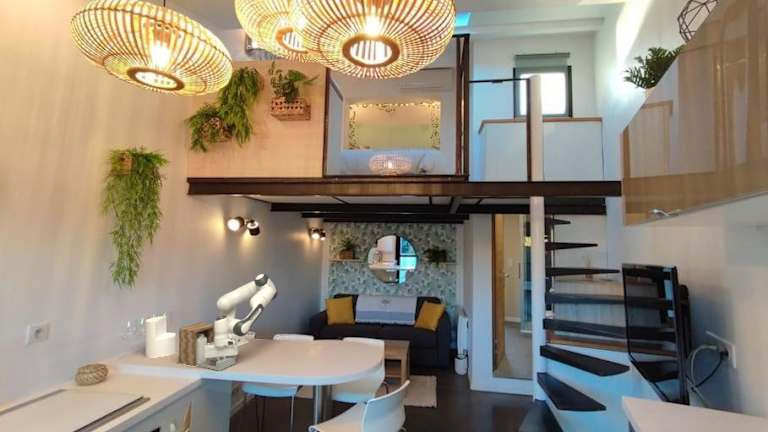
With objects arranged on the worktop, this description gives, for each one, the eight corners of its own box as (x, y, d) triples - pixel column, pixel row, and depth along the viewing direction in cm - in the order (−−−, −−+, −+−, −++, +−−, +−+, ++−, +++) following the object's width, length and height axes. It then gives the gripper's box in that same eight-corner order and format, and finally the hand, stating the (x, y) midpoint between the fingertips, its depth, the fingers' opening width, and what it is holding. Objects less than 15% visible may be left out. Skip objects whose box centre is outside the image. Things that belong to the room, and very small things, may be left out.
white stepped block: (139, 359, 258) (139, 322, 258) (154, 350, 276) (154, 316, 277) (168, 358, 259) (167, 321, 259) (180, 349, 278) (180, 315, 278)
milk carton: (199, 364, 246) (199, 335, 246) (190, 363, 247) (190, 334, 247) (207, 360, 252) (206, 332, 253) (197, 359, 254) (197, 331, 254)
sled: (184, 363, 247) (184, 356, 247) (200, 357, 258) (200, 350, 258) (219, 370, 233) (219, 362, 233) (235, 364, 244) (235, 356, 244)
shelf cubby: (179, 364, 246) (179, 328, 246) (200, 356, 261) (200, 322, 261) (194, 367, 240) (194, 330, 240) (215, 359, 255) (215, 324, 255)
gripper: (202, 344, 235) (203, 367, 235) (237, 341, 241) (237, 363, 240) (204, 341, 241) (205, 363, 241) (238, 338, 247) (238, 359, 246)
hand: (221, 363), depth 241 cm, fingers closed
